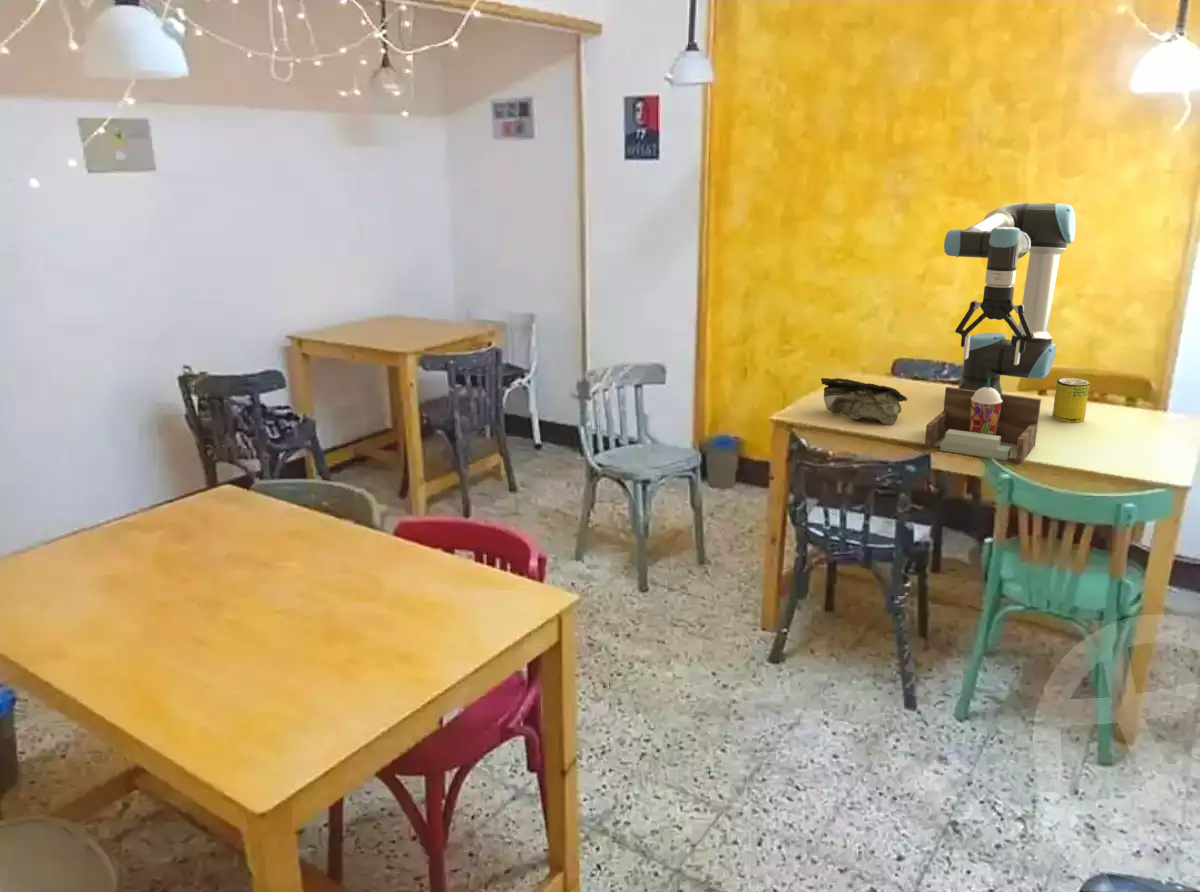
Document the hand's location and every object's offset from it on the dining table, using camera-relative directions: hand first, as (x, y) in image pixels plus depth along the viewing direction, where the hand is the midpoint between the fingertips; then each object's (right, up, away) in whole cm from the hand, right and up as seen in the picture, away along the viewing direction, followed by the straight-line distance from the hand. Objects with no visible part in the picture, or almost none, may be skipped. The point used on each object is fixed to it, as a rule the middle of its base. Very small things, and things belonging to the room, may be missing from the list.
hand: (990, 361), depth 262 cm
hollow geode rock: (-26, -14, +38) cm, 48 cm away
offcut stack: (-4, -26, +2) cm, 26 cm away
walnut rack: (0, -24, +7) cm, 25 cm away
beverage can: (+37, -15, +30) cm, 50 cm away
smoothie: (+1, -24, +8) cm, 25 cm away
